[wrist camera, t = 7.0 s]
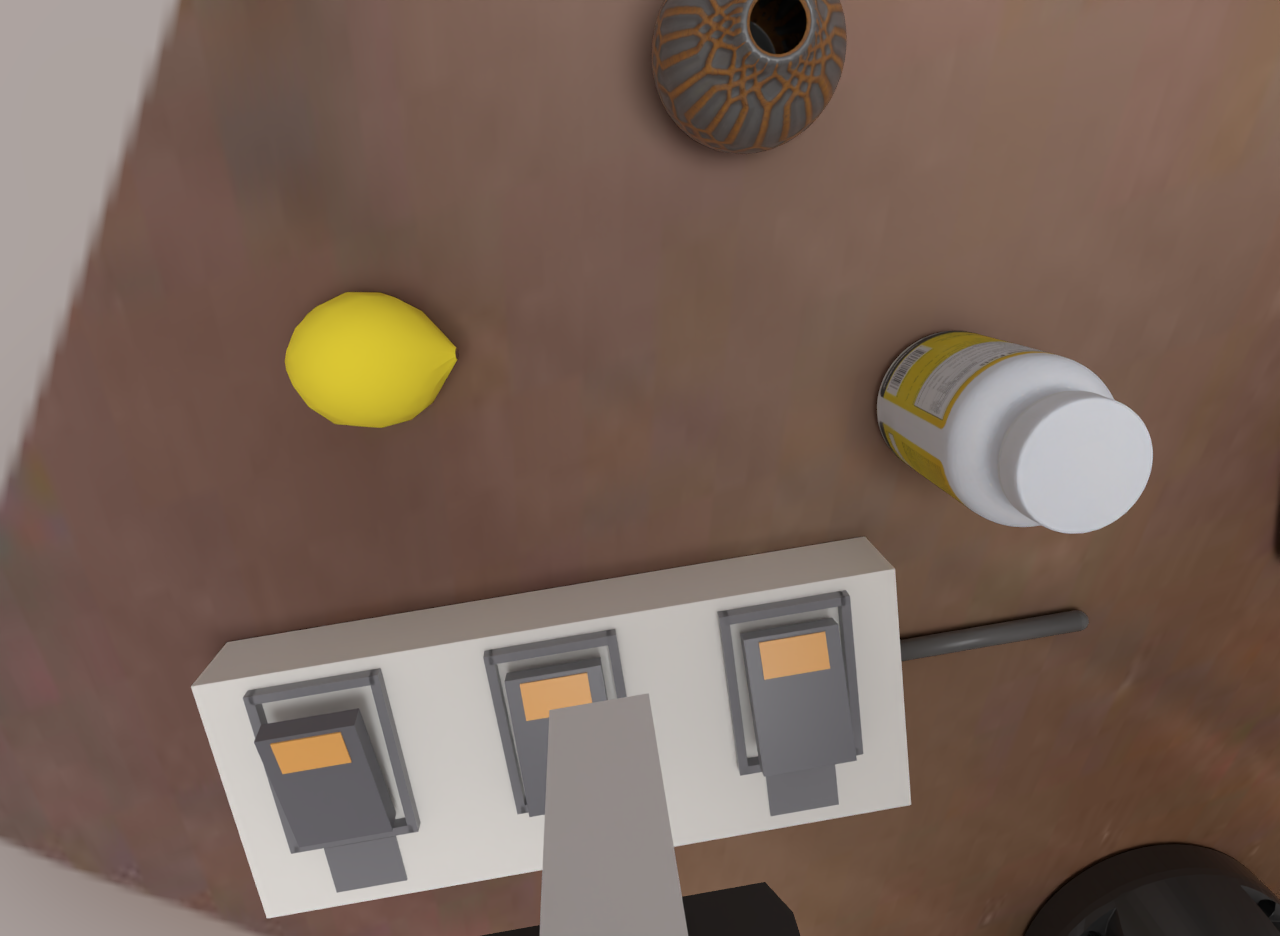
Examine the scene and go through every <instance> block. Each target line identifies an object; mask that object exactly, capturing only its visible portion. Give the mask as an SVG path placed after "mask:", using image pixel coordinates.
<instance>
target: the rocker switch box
mask: <svg viewBox="0 0 1280 936" xmlns="http://www.w3.org/2000/svg"><path fill="white" fill-rule="evenodd" d="M827 618H833V619H834V620H835V621H836V622H837V623H838V626H839V633H840V640H841V648H842V655H843V663H844V670H845V677H846V685H847V692H848V699H849V707H850V714H851V722H852V729H853V736H854V744H855V751H856V758H857V761H852V762H846V763H840V764H834V765H829V766H823V767H817V768H811V769H806V770H800V771H794V772H788V773H783V774H777V775H771V776H765V777H764V776H763V773H762V771H761V768H760V765H759V759H758V752H757V745H756V738H755V732H754V725H753V718H752V712H751V705H750V698H749V691H748V685H747V678H746V671H745V664H744V658H743V651H742V644H741V638H740V633H744V632H750V631H756V630H762V629H768V628H774V627H780V626H785V625H791V624H797V623H803V622H809V621H815V620H821V619H827ZM1088 623H1089V620H1088V617H1087V615H1086V614H1085V613H1084V612H1082V611H1079V610H1074V611H1068V612H1062V613H1056V614H1050V615H1044V616H1038V617H1032V618H1027V619H1021V620H1015V621H1009V622H1003V623H997V624H991V625H985V626H979V627H974V628H968V629H962V630H956V631H950V632H944V633H938V634H932V635H926V636H921V637H915V638H909V639H903V640H900V635H899V620H898V605H897V591H896V576H895V568H894V567H893V566H892V565H891V564H890V563H889V562H888V561H887V560H886V559H885V558H884V556H883V555H882V554H881V553H880V552H879V551H878V550H877V549H876V548H875V547H874V546H873V545H872V544H871V542H870V541H869V540H868V539H867V538H866V537H865V536H864V537H858V538H852V539H846V540H840V541H834V542H828V543H822V544H816V545H810V546H804V547H798V548H792V549H786V550H780V551H774V552H768V553H762V554H756V555H750V556H744V557H738V558H732V559H726V560H720V561H713V562H707V563H701V564H695V565H689V566H683V567H677V568H671V569H665V570H659V571H653V572H647V573H641V574H635V575H629V576H623V577H617V578H611V579H605V580H599V581H593V582H587V583H581V584H575V585H569V586H563V587H557V588H551V589H545V590H539V591H533V592H526V593H520V594H514V595H508V596H502V597H496V598H490V599H484V600H478V601H472V602H466V603H460V604H454V605H448V606H442V607H436V608H430V609H424V610H418V611H412V612H406V613H400V614H394V615H388V616H382V617H376V618H370V619H364V620H358V621H352V622H346V623H339V624H333V625H327V626H321V627H315V628H309V629H303V630H297V631H291V632H285V633H279V634H273V635H267V636H261V637H255V638H249V639H243V640H237V641H231V642H227V643H226V644H225V645H224V647H223V648H222V649H221V650H220V652H219V653H218V654H217V655H216V656H215V658H214V659H213V660H212V661H211V663H210V664H209V665H208V666H207V668H206V669H205V670H204V671H203V672H202V674H201V675H200V676H199V677H198V679H197V680H196V681H195V682H194V683H193V685H192V686H191V688H192V691H193V694H194V697H195V700H196V703H197V707H198V710H199V713H200V716H201V719H202V722H203V725H204V728H205V731H206V734H207V737H208V740H209V743H210V746H211V749H212V752H213V755H214V758H215V761H216V764H217V767H218V771H219V774H220V777H221V780H222V783H223V786H224V789H225V792H226V795H227V798H228V801H229V804H230V807H231V810H232V813H233V816H234V819H235V822H236V825H237V828H238V832H239V835H240V838H241V841H242V844H243V847H244V850H245V853H246V856H247V859H248V862H249V865H250V868H251V871H252V874H253V877H254V880H255V883H256V886H257V889H258V892H259V896H260V899H261V902H262V905H263V908H264V911H265V914H266V917H267V918H272V917H278V916H284V915H289V914H295V913H301V912H306V911H312V910H318V909H323V908H329V907H335V906H341V905H346V904H352V903H358V902H363V901H369V900H375V899H380V898H386V897H392V896H397V895H403V894H409V893H414V892H420V891H426V890H431V889H437V888H443V887H448V886H454V885H460V884H465V883H471V882H477V881H482V880H488V879H494V878H499V877H505V876H511V875H516V874H522V873H528V872H533V871H539V870H542V869H543V846H544V823H545V815H539V816H534V817H529V812H528V807H527V801H526V796H525V791H524V785H523V780H522V774H521V769H520V764H519V758H518V753H517V747H516V742H515V736H514V731H513V726H512V720H511V715H510V709H509V704H508V698H507V693H506V688H505V682H504V681H505V678H506V674H507V673H509V672H515V671H521V670H527V669H533V668H539V667H545V666H551V665H557V664H563V663H569V662H574V661H580V660H586V659H592V658H598V657H601V662H602V668H603V674H604V680H605V686H606V692H607V698H608V700H612V699H618V698H624V697H630V696H635V695H641V694H647V693H649V699H650V705H651V711H652V717H653V723H654V729H655V735H656V741H657V748H658V754H659V760H660V766H661V772H662V778H663V784H664V790H665V797H666V803H667V809H668V815H669V821H670V827H671V833H672V839H673V845H674V847H675V846H681V845H687V844H692V843H698V842H704V841H709V840H715V839H721V838H726V837H732V836H738V835H743V834H749V833H755V832H760V831H766V830H772V829H777V828H783V827H789V826H794V825H800V824H806V823H812V822H817V821H823V820H829V819H834V818H840V817H846V816H851V815H857V814H863V813H868V812H874V811H880V810H885V809H891V808H897V807H902V806H908V805H911V795H910V781H909V766H908V752H907V737H906V722H905V708H904V693H903V678H902V664H901V661H906V660H912V659H918V658H924V657H930V656H936V655H941V654H947V653H953V652H959V651H965V650H971V649H977V648H982V647H988V646H994V645H1000V644H1006V643H1012V642H1018V641H1023V640H1029V639H1035V638H1041V637H1047V636H1053V635H1059V634H1064V633H1070V632H1076V631H1081V630H1084V629H1085V628H1086V627H1087V626H1088ZM357 708H359V709H360V712H361V715H362V718H363V721H364V723H365V726H366V729H367V732H368V735H369V737H370V740H371V743H372V746H373V749H374V752H375V754H376V757H377V760H378V763H379V766H380V769H381V771H382V774H383V777H384V780H385V783H386V785H387V788H388V791H389V794H390V797H391V800H392V802H393V805H394V808H395V811H396V817H395V822H394V827H393V831H392V832H386V833H380V834H374V835H369V836H363V837H357V838H351V839H346V840H340V841H334V842H328V843H323V844H317V845H311V846H305V847H300V848H299V845H298V843H297V841H296V839H295V836H294V834H293V832H292V829H291V827H290V825H289V822H288V820H287V818H286V815H285V813H284V811H283V809H282V806H281V804H280V802H279V799H278V797H277V795H276V792H275V790H274V788H273V785H272V783H271V781H270V779H269V776H268V774H267V772H266V769H265V767H264V765H263V762H262V760H261V758H260V755H259V753H258V751H257V749H256V746H255V744H254V741H255V738H256V736H257V733H258V731H259V729H260V726H261V725H263V724H269V723H275V722H280V721H286V720H292V719H298V718H304V717H310V716H316V715H322V714H328V713H334V712H340V711H346V710H351V709H357Z"/></svg>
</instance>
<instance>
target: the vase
mask: <svg viewBox="0 0 1280 936" xmlns="http://www.w3.org/2000/svg"><path fill="white" fill-rule="evenodd" d="M846 38H847V36H846V24H845V18H844V13H843V9H842V6H841V3H840V0H665V1H664V3H663V5H662V7H661V9H660V12H659V15H658V18H657V21H656V25H655V29H654V34H653V40H652V70H653V76H654V81H655V85H656V89H657V91H658V94H659V97H660V99H661V101H662V103H663V105H664V107H665V109H666V111H667V112H668V114H669V115H670V117H671V118H672V119H673V121H674V122H675V123H676V124H677V125H678V127H679V128H680V129H681V130H682V131H684V132H685V133H686V134H687V135H688V136H690V137H691V138H692V139H694V140H695V141H697V142H699V143H700V144H702V145H704V146H706V147H709V148H712V149H714V150H718V151H722V152H727V153H735V154H750V153H757V152H762V151H766V150H769V149H773V148H775V147H778V146H780V145H782V144H784V143H786V142H788V141H790V140H792V139H793V138H795V137H797V136H798V135H799V134H801V133H802V132H803V131H805V130H806V129H807V128H808V127H809V126H810V125H811V124H812V123H813V122H814V121H815V120H816V119H817V118H818V117H819V115H820V114H821V113H822V111H823V110H824V109H825V107H826V106H827V104H828V103H829V101H830V99H831V98H832V96H833V94H834V91H835V89H836V87H837V85H838V82H839V79H840V77H841V73H842V70H843V66H844V61H845V54H846Z"/></svg>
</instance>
